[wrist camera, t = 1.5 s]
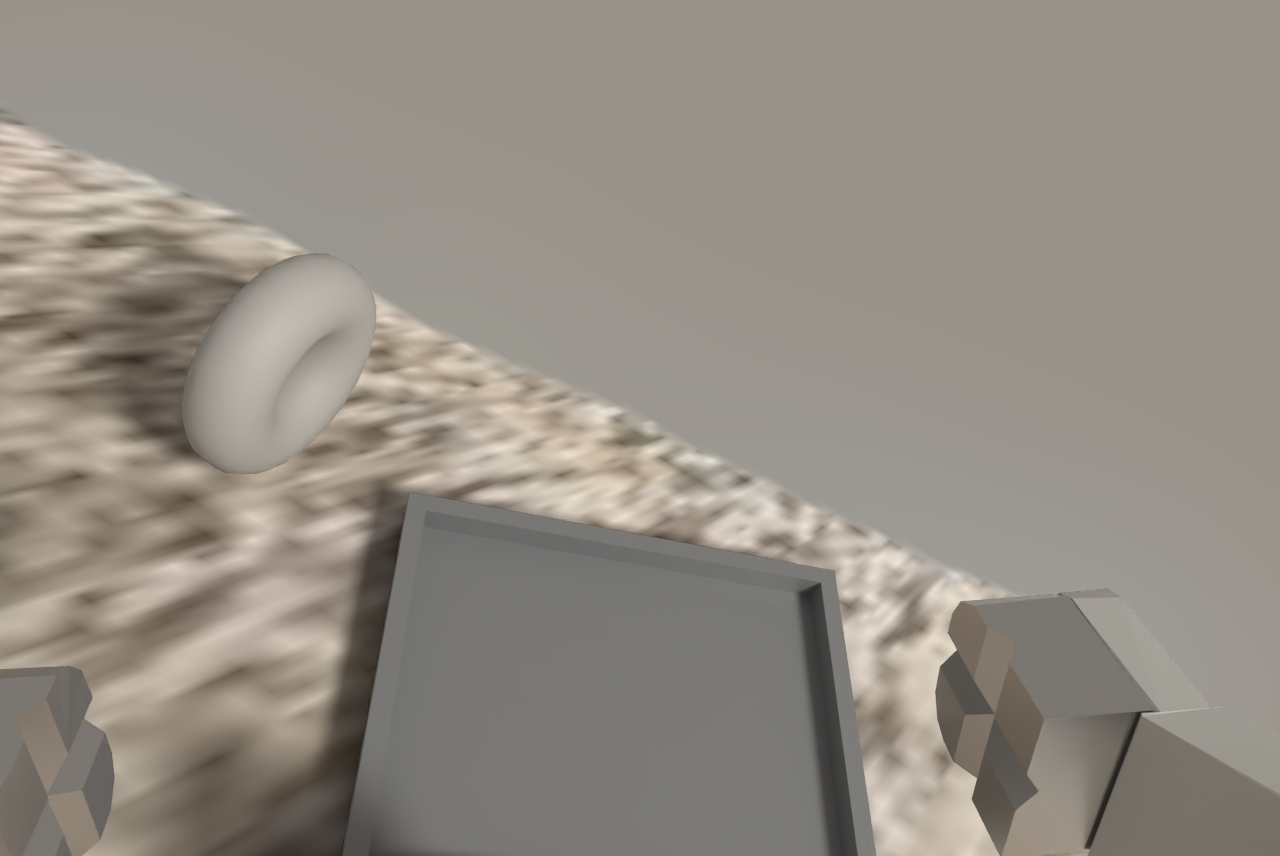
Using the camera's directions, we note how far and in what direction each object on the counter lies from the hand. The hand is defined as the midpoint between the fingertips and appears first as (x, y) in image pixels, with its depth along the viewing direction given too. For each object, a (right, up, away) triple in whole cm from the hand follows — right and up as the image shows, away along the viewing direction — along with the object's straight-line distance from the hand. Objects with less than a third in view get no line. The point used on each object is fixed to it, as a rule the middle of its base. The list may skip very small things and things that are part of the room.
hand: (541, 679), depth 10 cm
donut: (-15, +2, +36) cm, 40 cm away
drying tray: (0, -10, +33) cm, 34 cm away
